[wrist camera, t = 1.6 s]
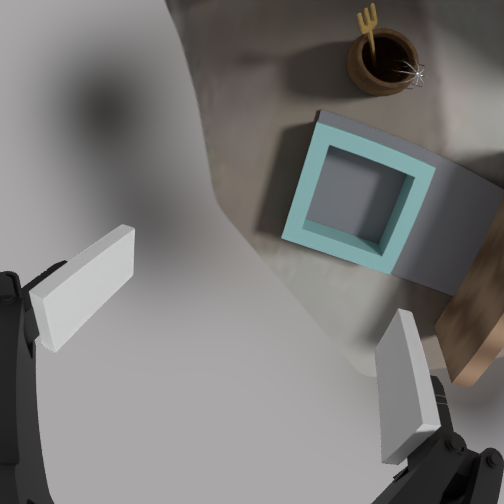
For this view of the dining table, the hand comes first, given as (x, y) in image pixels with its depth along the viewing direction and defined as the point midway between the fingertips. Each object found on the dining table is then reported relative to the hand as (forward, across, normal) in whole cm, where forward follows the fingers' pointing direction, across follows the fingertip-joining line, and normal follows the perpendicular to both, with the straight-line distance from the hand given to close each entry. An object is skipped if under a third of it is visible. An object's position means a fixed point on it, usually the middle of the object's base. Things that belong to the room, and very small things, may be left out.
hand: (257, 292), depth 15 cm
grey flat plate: (+20, +11, +1) cm, 23 cm away
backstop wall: (+20, +24, +1) cm, 31 cm away
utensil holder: (+20, +4, +14) cm, 25 cm away
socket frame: (+20, +6, +1) cm, 21 cm away
